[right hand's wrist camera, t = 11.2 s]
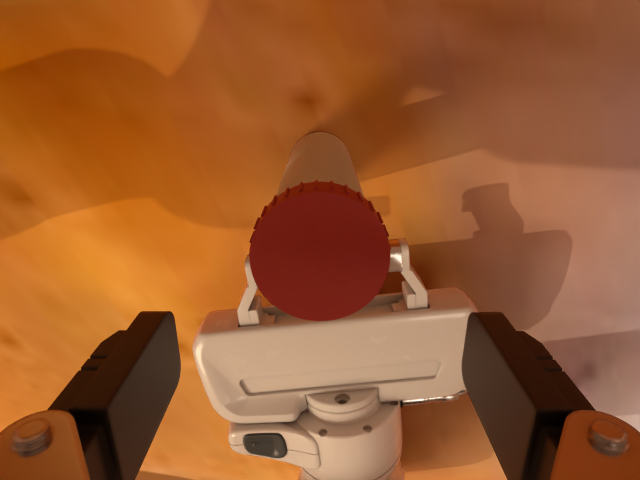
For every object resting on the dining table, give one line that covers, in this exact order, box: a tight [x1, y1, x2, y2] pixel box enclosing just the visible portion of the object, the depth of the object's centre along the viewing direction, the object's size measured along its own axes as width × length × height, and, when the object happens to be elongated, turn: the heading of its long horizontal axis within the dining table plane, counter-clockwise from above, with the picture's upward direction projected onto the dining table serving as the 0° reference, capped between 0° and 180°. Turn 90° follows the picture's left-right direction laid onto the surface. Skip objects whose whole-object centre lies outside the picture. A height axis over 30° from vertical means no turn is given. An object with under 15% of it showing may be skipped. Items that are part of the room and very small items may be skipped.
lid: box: [249, 180, 391, 321], centre depth 17 cm, size 6×6×2 cm
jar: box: [276, 132, 364, 197], centre depth 25 cm, size 5×5×18 cm
